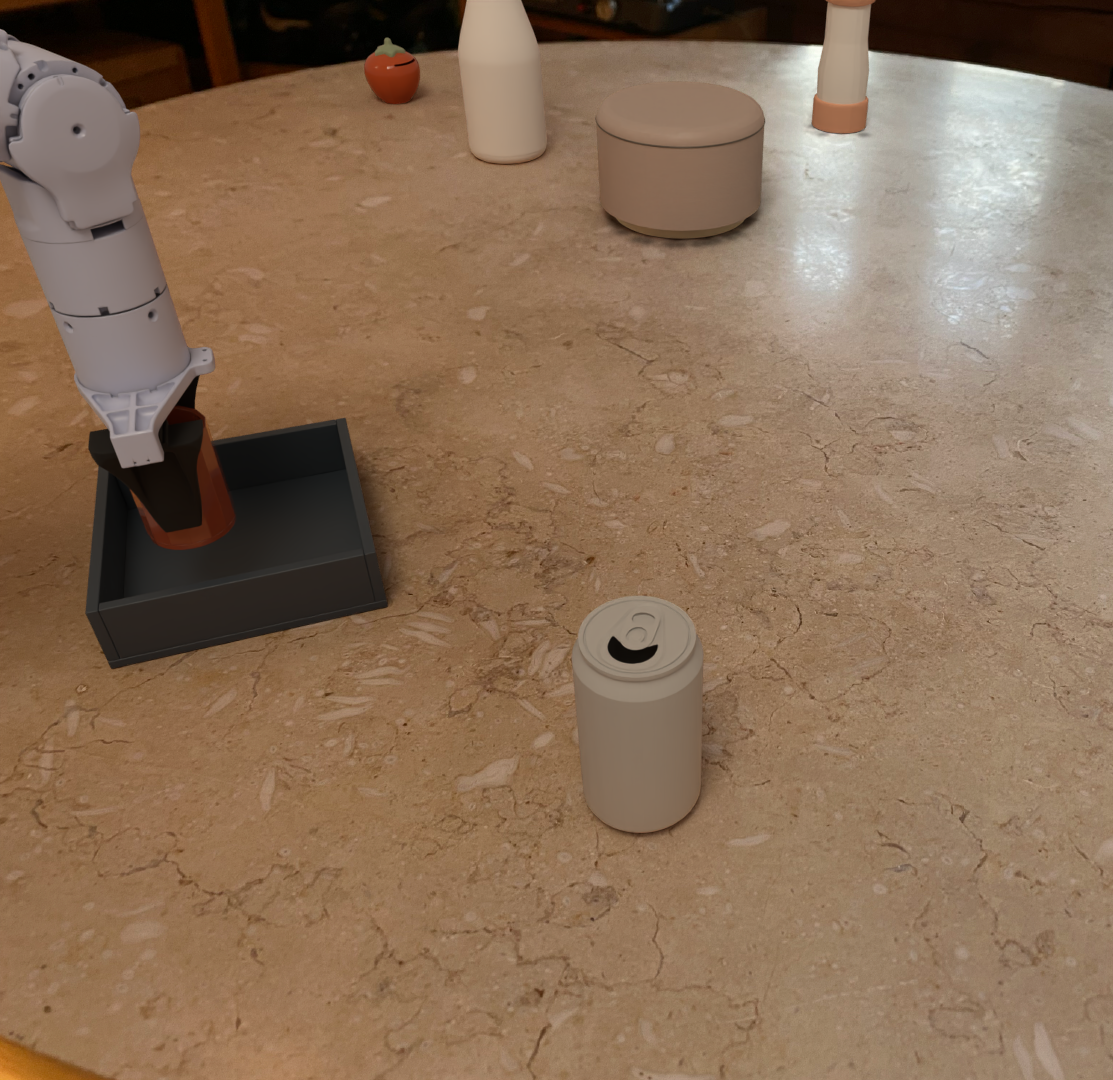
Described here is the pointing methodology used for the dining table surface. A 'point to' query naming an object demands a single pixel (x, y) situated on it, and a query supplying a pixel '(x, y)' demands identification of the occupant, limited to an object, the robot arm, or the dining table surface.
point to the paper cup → (212, 489)
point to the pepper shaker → (843, 68)
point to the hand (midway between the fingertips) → (183, 499)
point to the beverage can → (639, 712)
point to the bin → (239, 552)
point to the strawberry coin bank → (392, 73)
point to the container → (680, 158)
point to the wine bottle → (501, 82)
